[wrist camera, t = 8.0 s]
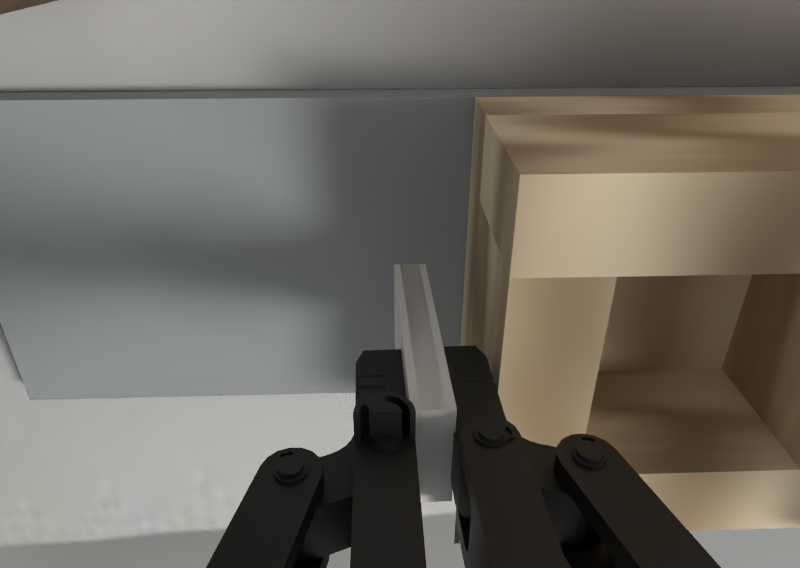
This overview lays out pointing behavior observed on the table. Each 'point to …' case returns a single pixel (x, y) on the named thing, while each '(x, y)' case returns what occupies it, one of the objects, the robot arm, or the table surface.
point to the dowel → (19, 4)
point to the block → (647, 288)
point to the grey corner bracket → (232, 232)
